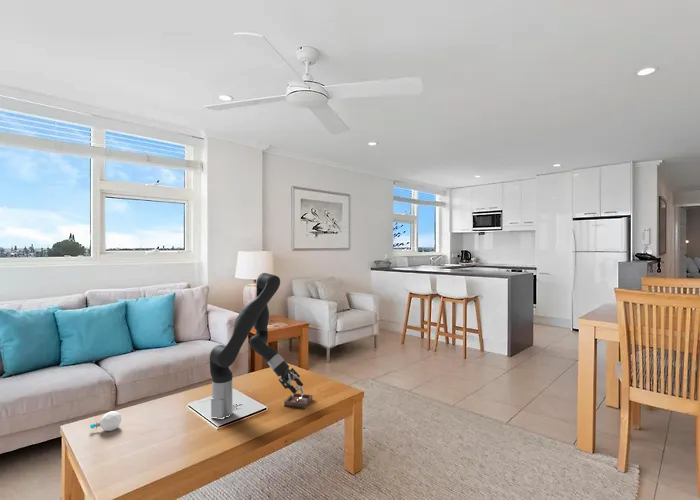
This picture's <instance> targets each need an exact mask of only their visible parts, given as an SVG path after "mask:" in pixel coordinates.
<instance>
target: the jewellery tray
mask: <svg viewBox="0 0 700 500" xmlns="http://www.w3.org/2000/svg"><path fill="white" fill-rule="evenodd" d="M301 395H302V393H298V392H296V393H295V396H294V398H295V400H297V399H299V398H300V397H301ZM312 401H313V395H312V394H305V393H304V395H303V398H302V399H301V400H300V401H299V402H298V401H294V400H293V398H292V393H291V394H290V395H289V396H288V397H287V398H286V399H285V400H284V402H283V404H284V405H283V407H287V408H292V409H299V410H300V409H301V410H305V409H306V408H307V407H308V406H309V404H310V403H311V402H312Z"/></svg>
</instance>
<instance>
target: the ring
mask: <svg viewBox="0 0 700 500" xmlns="http://www.w3.org/2000/svg"><path fill="white" fill-rule="evenodd" d="M294 388H295V389H296V390H297V391H296V392H295V393H298V391H299V390H300V391H301V394H302V395H301V397H300V398H299V399H297V400H295V398H294V396H295V393H294V394H293V393H292V392H291V394H292V398H293V400H294V401H298V402H299V401H300V400H301V399H302V398H303V395H304V394H305V390H304V388H303V386H299V385H296V386H294Z"/></svg>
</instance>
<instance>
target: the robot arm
mask: <svg viewBox="0 0 700 500" xmlns="http://www.w3.org/2000/svg"><path fill="white" fill-rule="evenodd" d="M280 286H281V278H280V277H279V276H277V275H274V274H273V273H272V274H271V273H268V272H262V273H260V274H259V275H258V277H257V279H256V298H254V299H253V300H251V301H250V302H249V303H247V304H246V305H245V306H243V308H242V309H241V310H240V312H239V314H238V315H237V317H236V318H235V321H234V325H233V332H232V334H231V337H230V339H229V340H228V341H227V344H226V345H224V344H223V345H222V344H218V345H215V346H214V347H213V348H212V349H211V351H210V354H209V369H210V370H209V372H210V376H211V397H212V398H210V410H211V411H210V412H211V413H210V416H211V417H217V418H223V417H226V416H229V415H231V414H232V412H233V411H234V410H233V372H232V370H231V369H230V367H231V366H232V364H233V363H234V362H235V360H236V359H237V357H238V355H239V353H240V350H241V348H242V346H243V344H244V343H245V341H246V339H247V337H248V336H249V334H250V332H252V331H251V330H252V329H253V328H254V329H255V335H253V336H251V337H250V338H249V346H250V348H251V349H252V350H253V351H254V352H255V353H256V354H258V355H259V356H261V357H262V358H263V359H264V360H265V362H266V363H267V364H268V366H269V367H270V369H271V370H272V371H273V372H274V373H275V374H276V376H277V377H278V381H279V383H280V384H281V385H282V386H283V388H284V389H286V390H287V389H289V390H290V392H291V394H292V393H293V394H294V393H295V392H296V391H297V389H295V386H294V385H293V384H292V381H293V382H295V383H296V384H297V386H301V387H303V386H304V383H303V382H302V381H301V380H300V374H299V373H298V372H297V371H296V370H295V369H294V368H293V367H292V368H290V366H289V364H288V363H287V362H286V360H285V359H284V358H283V357H282V356H281V355H280V354H279V353H278V352H277V351H276V349H275V348H274V347H273V346H269V345H267V342H268V339H269V332H268V331H269V330H268V326H269V319H270V311H269V306H268V303H269V302H270V300H271V299H272V298H273V296H275V294H276V292H277V291H278V290H279V288H280ZM297 392H298V391H297ZM297 392H296V393H297ZM232 415H233V414H232ZM232 415H231V416H232ZM211 417H210V418H211Z"/></svg>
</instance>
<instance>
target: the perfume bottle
mask: <svg viewBox="0 0 700 500" xmlns="http://www.w3.org/2000/svg"><path fill="white" fill-rule="evenodd" d="M121 422H122V415H121V414H120V413H119V412H117V411H111V410H110V411H109V412H107V413H105V414H103V416H102V417H101V418H100V420H99V422H97V421H95V423H91V424H90V425H89V427H90V429H97V428H98V427H100V428H101V429H102V430H103V431H104V432H113V431H114V430H116V429H117V428H119V426H120V424H121Z"/></svg>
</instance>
